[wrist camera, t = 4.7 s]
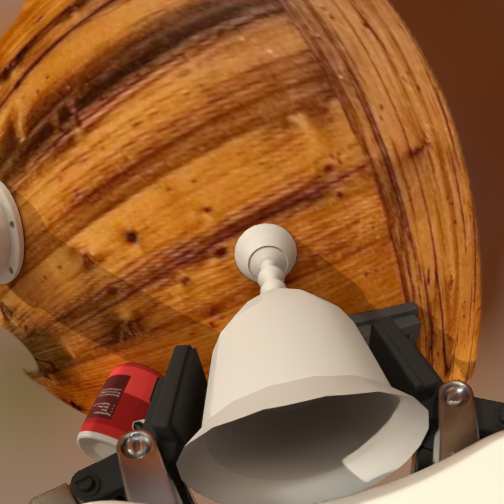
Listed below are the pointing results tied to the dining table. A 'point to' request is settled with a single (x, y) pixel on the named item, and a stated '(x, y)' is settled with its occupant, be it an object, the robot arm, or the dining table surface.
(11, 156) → the dining table surface
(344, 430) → the chalice
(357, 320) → the scale
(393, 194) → the dining table surface
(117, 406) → the canned food
